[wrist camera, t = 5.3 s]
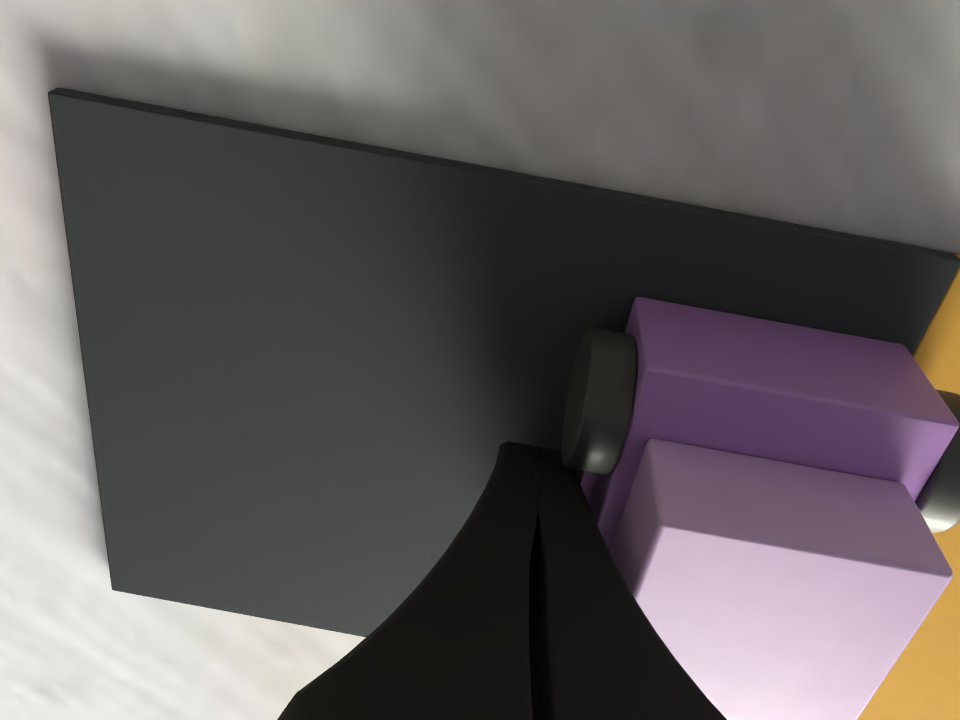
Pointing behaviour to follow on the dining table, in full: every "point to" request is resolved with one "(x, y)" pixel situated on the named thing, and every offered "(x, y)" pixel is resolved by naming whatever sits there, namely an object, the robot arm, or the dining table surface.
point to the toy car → (767, 499)
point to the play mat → (397, 350)
